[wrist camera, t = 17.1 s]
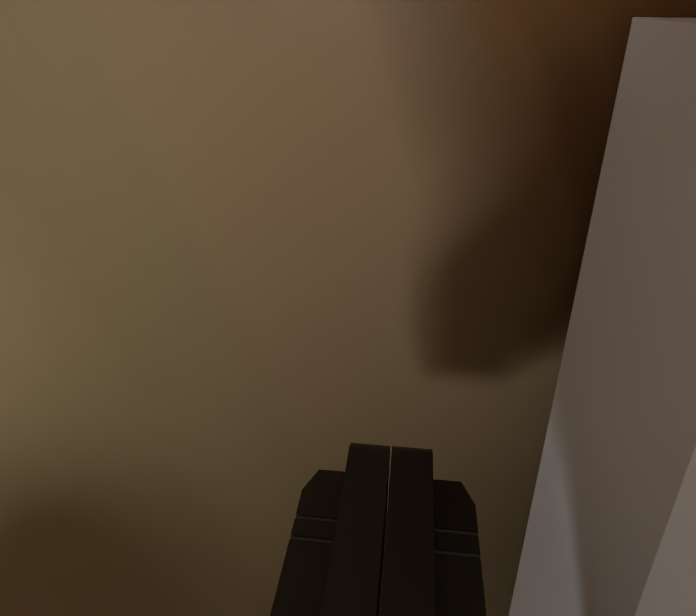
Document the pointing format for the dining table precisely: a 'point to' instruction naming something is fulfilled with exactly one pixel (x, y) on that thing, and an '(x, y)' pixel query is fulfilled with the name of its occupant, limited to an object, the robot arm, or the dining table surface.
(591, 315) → the tray
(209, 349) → the dining table surface
